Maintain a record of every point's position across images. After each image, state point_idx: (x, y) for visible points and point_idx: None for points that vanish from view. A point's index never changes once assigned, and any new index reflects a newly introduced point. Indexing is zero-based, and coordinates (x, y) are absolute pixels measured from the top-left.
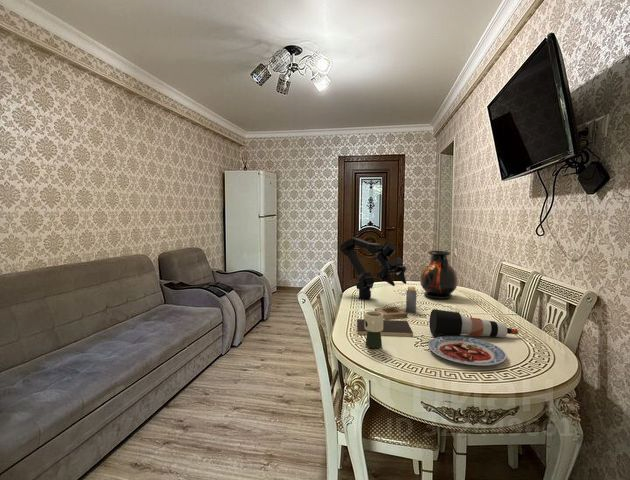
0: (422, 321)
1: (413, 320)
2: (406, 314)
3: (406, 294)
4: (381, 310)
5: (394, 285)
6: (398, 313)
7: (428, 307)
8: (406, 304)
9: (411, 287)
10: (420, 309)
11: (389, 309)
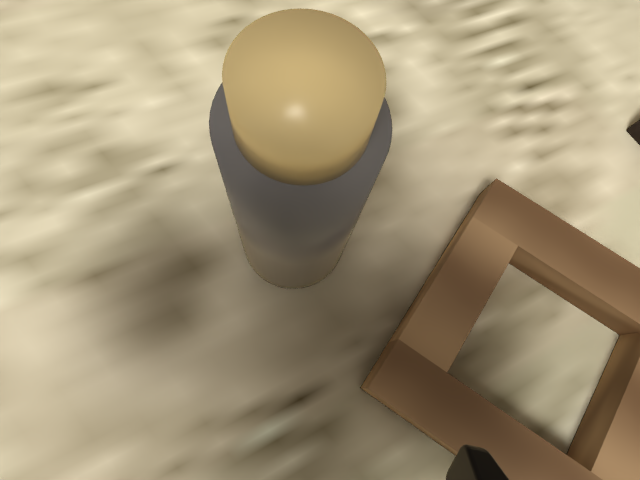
0: (481, 66)
1: (512, 124)
2: (500, 187)
3: (348, 214)
4: (619, 444)
5: (482, 454)
6: (564, 242)
7: (21, 167)
8: (336, 253)
9: (326, 67)
10: (148, 201)
11: (491, 404)
